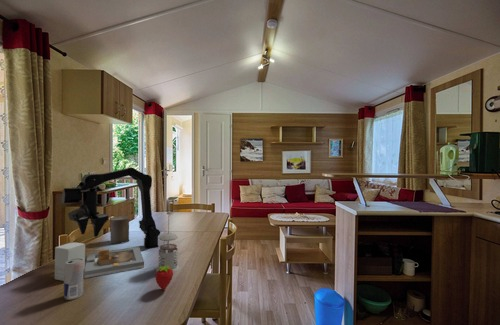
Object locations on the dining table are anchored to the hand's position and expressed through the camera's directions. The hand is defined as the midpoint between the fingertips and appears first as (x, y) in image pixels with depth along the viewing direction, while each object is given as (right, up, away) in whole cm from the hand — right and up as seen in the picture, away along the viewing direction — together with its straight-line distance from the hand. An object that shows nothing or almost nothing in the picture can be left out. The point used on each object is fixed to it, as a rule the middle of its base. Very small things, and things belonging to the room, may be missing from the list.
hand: (89, 235), depth 115 cm
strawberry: (+43, -13, -24) cm, 51 cm away
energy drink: (+14, -12, -30) cm, 35 cm away
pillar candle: (-1, -12, +30) cm, 32 cm away
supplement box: (+2, -12, -15) cm, 20 cm away
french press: (+38, -13, -6) cm, 40 cm away
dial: (+13, -11, -1) cm, 17 cm away
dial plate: (+13, -12, -1) cm, 18 cm away
